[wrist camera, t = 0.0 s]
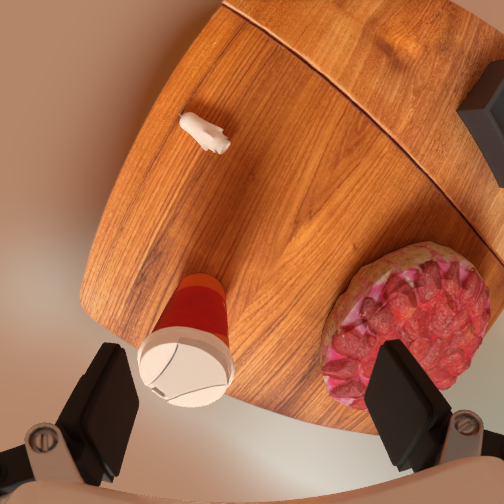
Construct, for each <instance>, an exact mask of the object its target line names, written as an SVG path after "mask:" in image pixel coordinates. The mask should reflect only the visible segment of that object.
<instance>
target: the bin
mask: <svg viewBox="0 0 504 504" xmlns="http://www.w3.org/2000/svg"><path fill="white" fill-rule="evenodd" d="M456 112H457V113H458V115H459V116H460V118H461V119H462V121H463V122H464V124H465V125H466V127H467V128H468V130H469V132H470V133H471V135H472V137H473V138H474V140H475V142H476V143H477V145H478V147H479V148H480V150H481V152H482V154H483V156H484V157H485V159H486V161H487V163H488V165H489V167H490V169H491V171H492V172H493V174H494V176H495V178H496V181H497V183H498V185H499V187H500V188H504V60H499V61H494V62H491V63H490V65H489V66H488V67H487V69H486V70H485V72H484V73H483V75H482V76H481V78H480V79H479V80H478V82H477V83H476V85H475V86H474V88H473V89H472V90H471V92H470V93H469V94H468V96H467V97H466V99H465V100H464V101H463V103H462V104H461V105H460V107H459V108H458V109H457V111H456Z"/></svg>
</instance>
